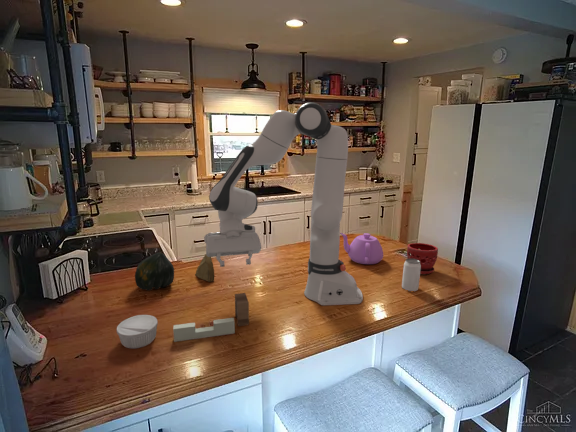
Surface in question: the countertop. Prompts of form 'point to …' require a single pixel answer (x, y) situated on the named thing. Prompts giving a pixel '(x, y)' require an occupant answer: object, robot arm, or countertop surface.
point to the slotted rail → (203, 330)
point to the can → (411, 274)
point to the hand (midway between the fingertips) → (235, 265)
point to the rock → (205, 269)
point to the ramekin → (137, 331)
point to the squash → (154, 272)
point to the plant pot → (423, 256)
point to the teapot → (364, 249)
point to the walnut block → (242, 309)
